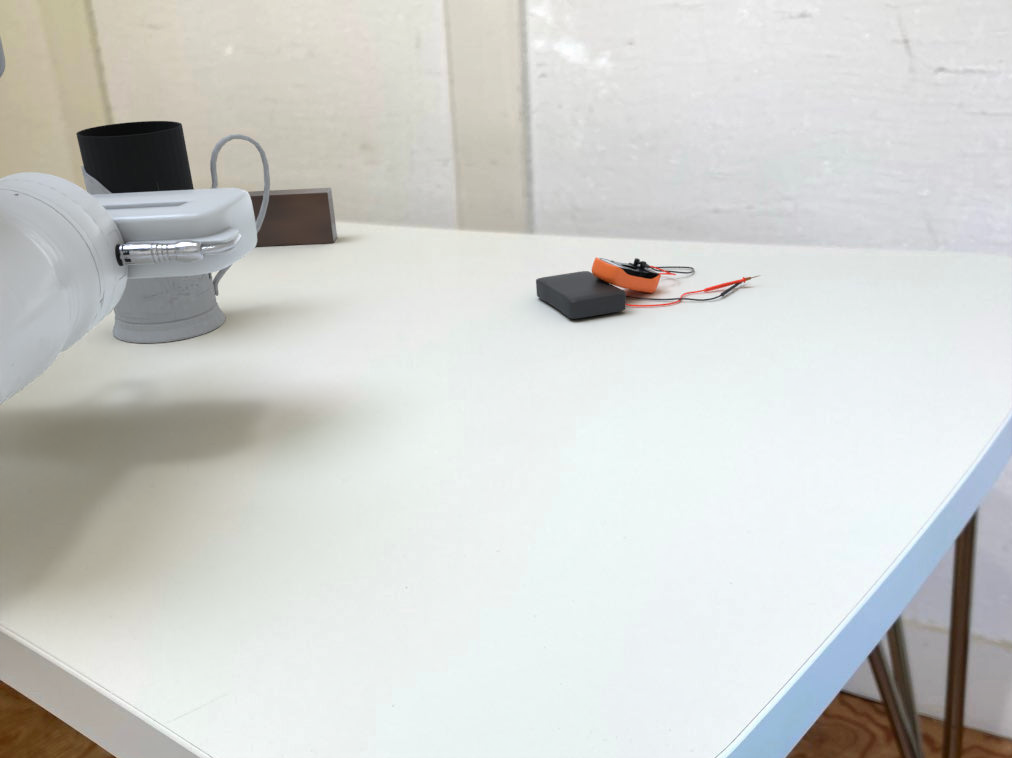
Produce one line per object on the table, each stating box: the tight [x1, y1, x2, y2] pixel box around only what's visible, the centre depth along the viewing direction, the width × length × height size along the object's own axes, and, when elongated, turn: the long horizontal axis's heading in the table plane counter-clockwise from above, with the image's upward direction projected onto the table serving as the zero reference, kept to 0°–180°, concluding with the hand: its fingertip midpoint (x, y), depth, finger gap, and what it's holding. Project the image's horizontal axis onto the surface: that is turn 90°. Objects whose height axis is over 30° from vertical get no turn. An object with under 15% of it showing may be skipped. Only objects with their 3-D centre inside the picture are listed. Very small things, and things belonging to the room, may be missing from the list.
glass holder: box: [75, 120, 271, 344], centre depth 83 cm, size 9×14×15 cm, turn 117°
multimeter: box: [535, 256, 762, 319], centre depth 87 cm, size 18×12×3 cm, turn 107°
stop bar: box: [247, 187, 338, 248], centre depth 107 cm, size 14×2×5 cm, turn 90°
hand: (121, 206), depth 70 cm, fingers closed
